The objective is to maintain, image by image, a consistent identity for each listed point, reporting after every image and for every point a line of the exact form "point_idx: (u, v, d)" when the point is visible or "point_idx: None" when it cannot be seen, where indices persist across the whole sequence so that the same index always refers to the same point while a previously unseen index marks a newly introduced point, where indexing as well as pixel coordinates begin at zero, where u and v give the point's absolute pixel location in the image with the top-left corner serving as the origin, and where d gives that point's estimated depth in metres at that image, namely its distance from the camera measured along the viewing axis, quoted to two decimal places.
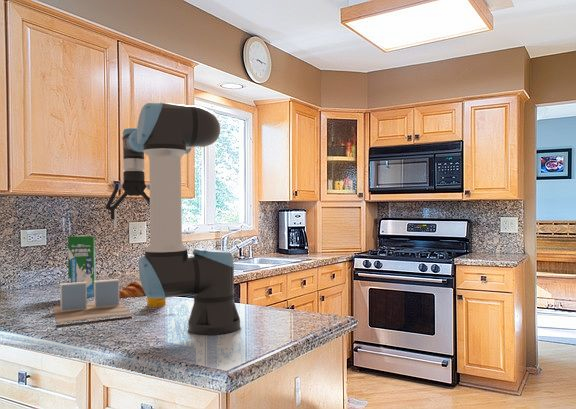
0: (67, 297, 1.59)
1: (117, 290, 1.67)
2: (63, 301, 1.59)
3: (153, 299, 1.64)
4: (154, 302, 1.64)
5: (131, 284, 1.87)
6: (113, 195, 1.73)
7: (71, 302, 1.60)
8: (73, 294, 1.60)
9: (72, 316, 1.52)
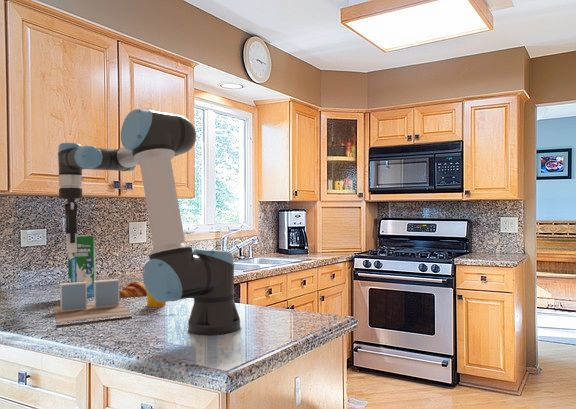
0: (67, 297, 1.59)
1: (117, 290, 1.67)
2: (63, 301, 1.59)
3: (153, 299, 1.64)
4: (154, 302, 1.64)
5: (131, 284, 1.87)
6: (66, 215, 1.74)
7: (71, 302, 1.60)
8: (73, 294, 1.60)
9: (72, 316, 1.52)
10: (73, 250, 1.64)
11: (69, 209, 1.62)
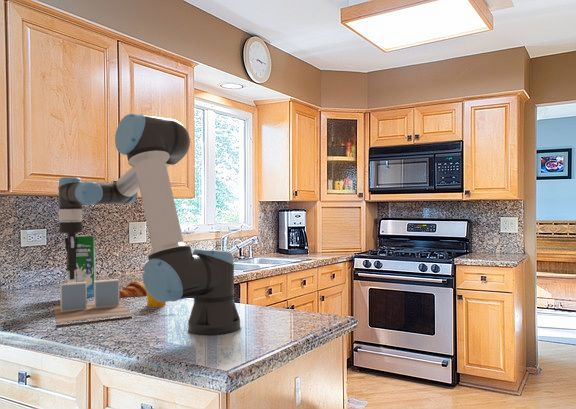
0: (67, 297, 1.59)
1: (117, 290, 1.67)
2: (63, 301, 1.59)
3: (153, 299, 1.64)
4: (154, 302, 1.64)
5: (131, 284, 1.87)
6: None
7: (71, 302, 1.60)
8: (73, 294, 1.60)
9: (72, 316, 1.52)
10: None
11: (69, 248, 1.63)
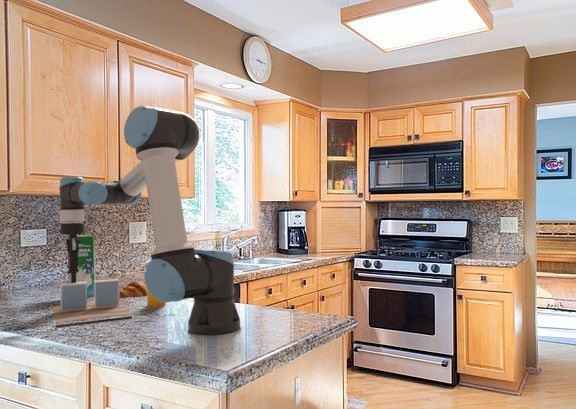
0: (67, 297, 1.59)
1: (117, 290, 1.67)
2: (63, 301, 1.58)
3: (153, 299, 1.64)
4: (154, 302, 1.64)
5: (131, 284, 1.87)
6: (68, 254, 1.66)
7: (71, 302, 1.60)
8: (73, 294, 1.60)
9: (72, 316, 1.52)
10: None
11: (71, 250, 1.57)
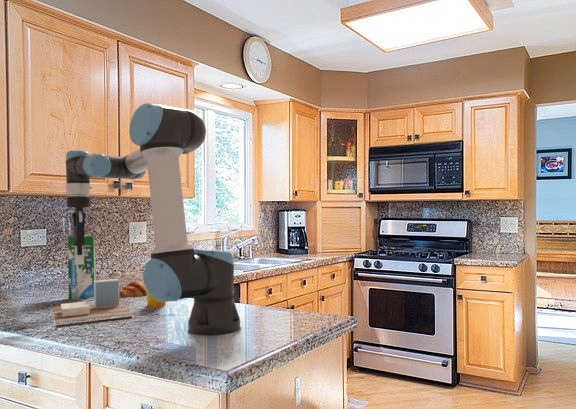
0: None
1: (117, 290, 1.67)
2: None
3: (153, 299, 1.64)
4: (154, 302, 1.64)
5: (131, 284, 1.87)
6: None
7: None
8: None
9: (72, 316, 1.52)
10: (80, 262, 1.65)
11: (77, 222, 1.60)
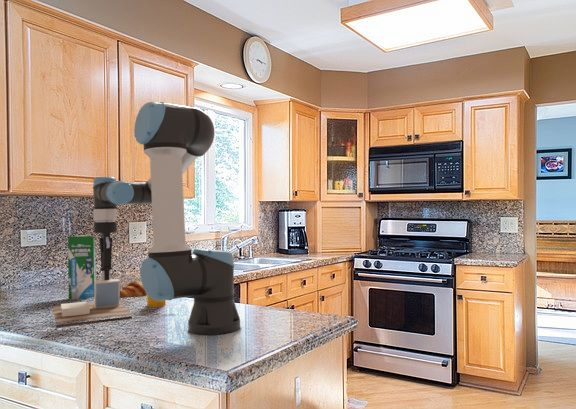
0: None
1: (117, 291, 1.66)
2: None
3: None
4: (154, 302, 1.64)
5: (131, 284, 1.88)
6: None
7: None
8: None
9: (72, 316, 1.52)
10: None
11: (105, 248, 1.62)
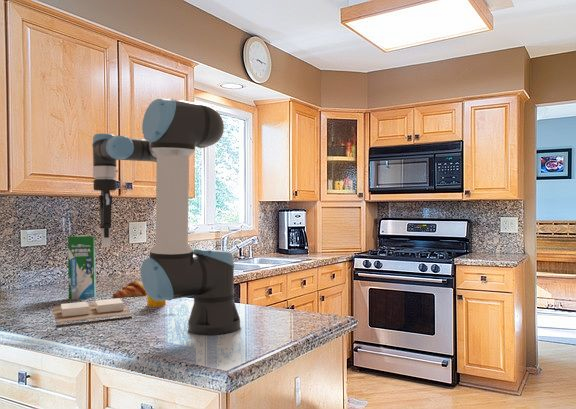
0: None
1: None
2: None
3: None
4: (154, 302, 1.64)
5: (131, 284, 1.88)
6: (100, 211, 1.69)
7: None
8: None
9: (72, 316, 1.52)
10: (107, 244, 1.66)
11: (104, 205, 1.61)
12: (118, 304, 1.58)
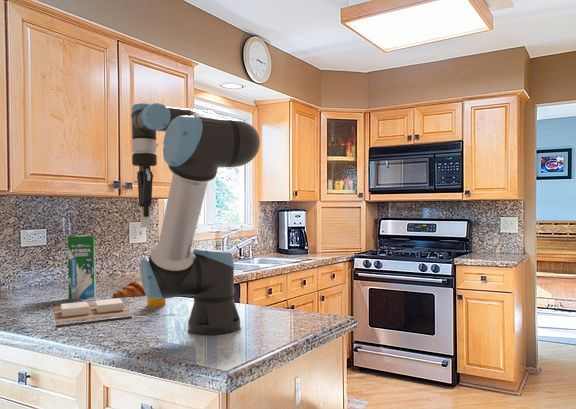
0: None
1: None
2: None
3: (153, 299, 1.64)
4: (154, 302, 1.64)
5: (131, 284, 1.88)
6: (138, 188, 1.56)
7: None
8: None
9: (72, 316, 1.52)
10: (146, 224, 1.53)
11: (145, 181, 1.48)
12: (118, 304, 1.58)
